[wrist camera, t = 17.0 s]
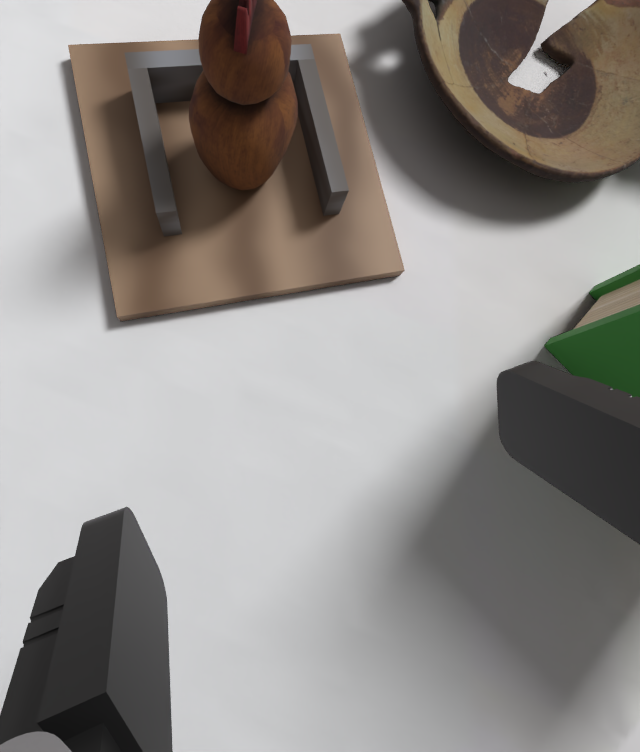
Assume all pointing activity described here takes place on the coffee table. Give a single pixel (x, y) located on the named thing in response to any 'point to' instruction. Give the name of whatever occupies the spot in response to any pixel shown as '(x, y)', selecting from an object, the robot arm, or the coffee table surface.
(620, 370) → the hardback book
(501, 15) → the oil lamp
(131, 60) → the keeper cradle
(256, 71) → the wooden figurine
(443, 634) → the coffee table surface
